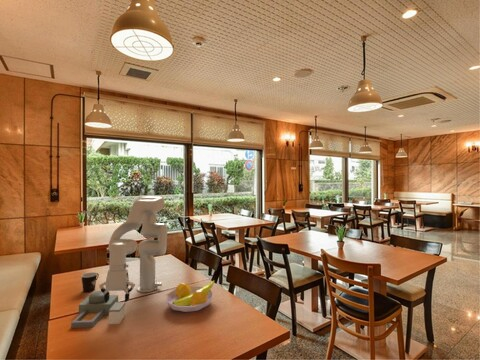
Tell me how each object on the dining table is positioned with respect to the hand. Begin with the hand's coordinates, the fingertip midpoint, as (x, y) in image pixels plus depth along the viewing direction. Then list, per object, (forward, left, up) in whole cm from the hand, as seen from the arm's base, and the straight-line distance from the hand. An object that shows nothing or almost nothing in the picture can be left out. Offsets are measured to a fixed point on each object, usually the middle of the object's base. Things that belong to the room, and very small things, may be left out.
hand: (116, 301), depth 133 cm
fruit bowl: (-36, -14, -10) cm, 40 cm away
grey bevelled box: (0, -1, -10) cm, 10 cm away
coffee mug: (+30, -38, -10) cm, 49 cm away
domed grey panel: (+14, -6, -10) cm, 18 cm away
